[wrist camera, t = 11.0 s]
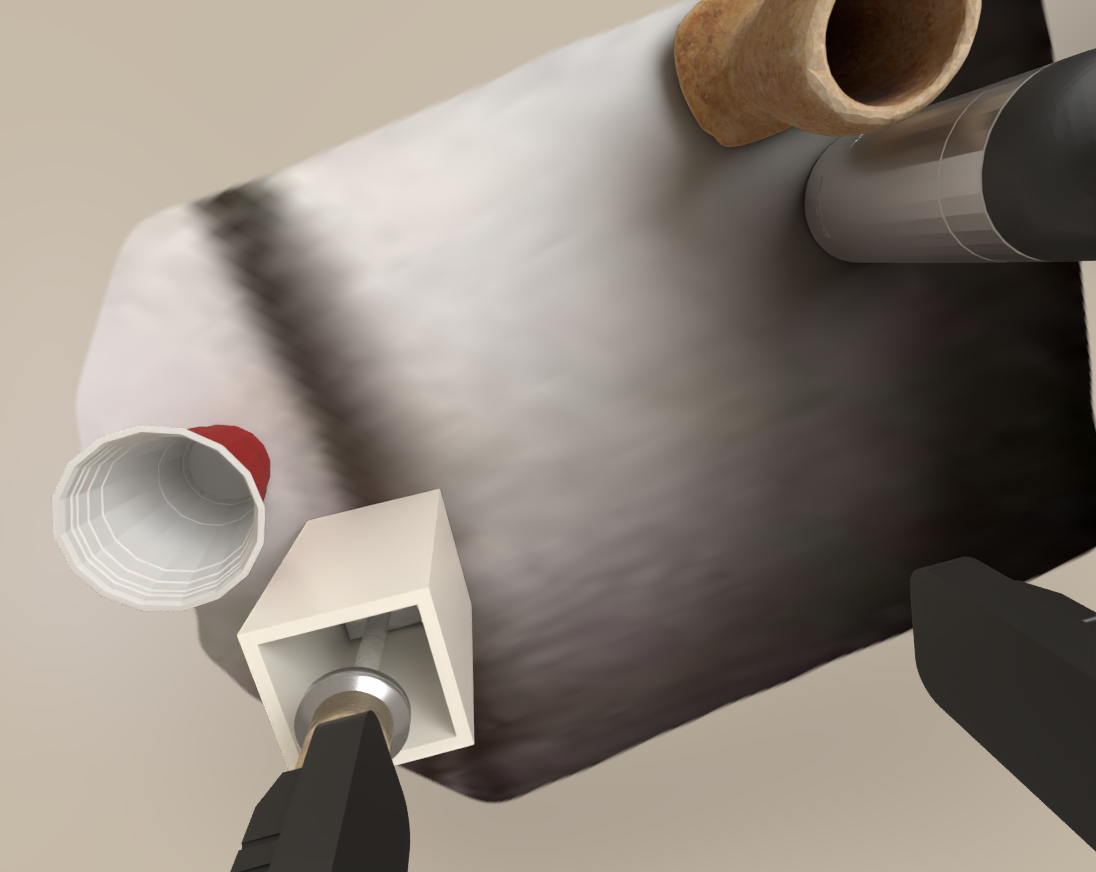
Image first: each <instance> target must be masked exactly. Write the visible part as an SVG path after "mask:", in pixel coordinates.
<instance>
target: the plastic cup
mask: <svg viewBox="0 0 1096 872" xmlns="http://www.w3.org/2000/svg"><path fill="white" fill-rule="evenodd" d="M269 478H270V459H269V457H268V454H267V452H266V449H265V447H264V445H263V444H262V443H261V442H260V441H259V440H258V439H257V438H256V437H255V436H254V435H253V434H252V433H250V432H248V431H245V430H243V429H241V428H239V427H236V426H226V425H213V426H209V427H196V428H190V429H184V428H173V427H159V426H144V425H139V426H136V427H132V428H129V429H126V430H122V431H119V432H116V433H113V434H109V435H106V436H103V437H99V438H98V439H97V440H96V441H94V442H93V443H92V444H91V445H89V446H88V447H87V448H86V449H85V450H83V451H82V452H81V453H80V454H79V455H77V456H76V457H75V458H74V459H72V460H71V461H70V462H69V463H68V464H67V466H66V469H65V471H64V473H63V475H62V477H61V480H60V481H59V483H58V486H57V488H56V490H55V492H54V494H53V496H52V521H53V522H52V524H53V537H54V539H55V541H56V543H57V545H58V546H59V549H60V550H61V553H62V554H63V556H64V558H65V560H66V562H67V564H68V566H69V568H70V570H71V571H72V572H73V573H74V574H76V575H77V576H78V577H79V578H80V579H82V580H83V581H84V582H85V583H86V584H87V585H89V586H90V587H91V588H92V589H93V590H95V591H96V592H97V593H98V594H99V595H101V596H102V597H104V598H107V599H110V600H113V601H116V602H118V603H121V604H124V605H126V606H129V607H132V608H135V609H137V610H140V611H184V610H187V609H190V608H193V607H196V606H199V605H202V604H205V603H208V602H211V601H214V600H217V599H219V598H221V597H222V596H223V595H224V594H225V593H227V592H228V591H229V590H230V589H231V588H233V587H234V586H235V585H236V584H238V583H239V582H240V581H241V580H242V579H244V578H245V577H246V576H247V575H248V574H249V572H250V570H251V568H252V566H253V564H254V562H255V560H256V558H257V556H258V554H259V552H260V550H261V548H262V546H263V544H264V524H265V506H264V504H263V500H264V497H265V494H266V486H267V484H268V481H269Z"/></svg>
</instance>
